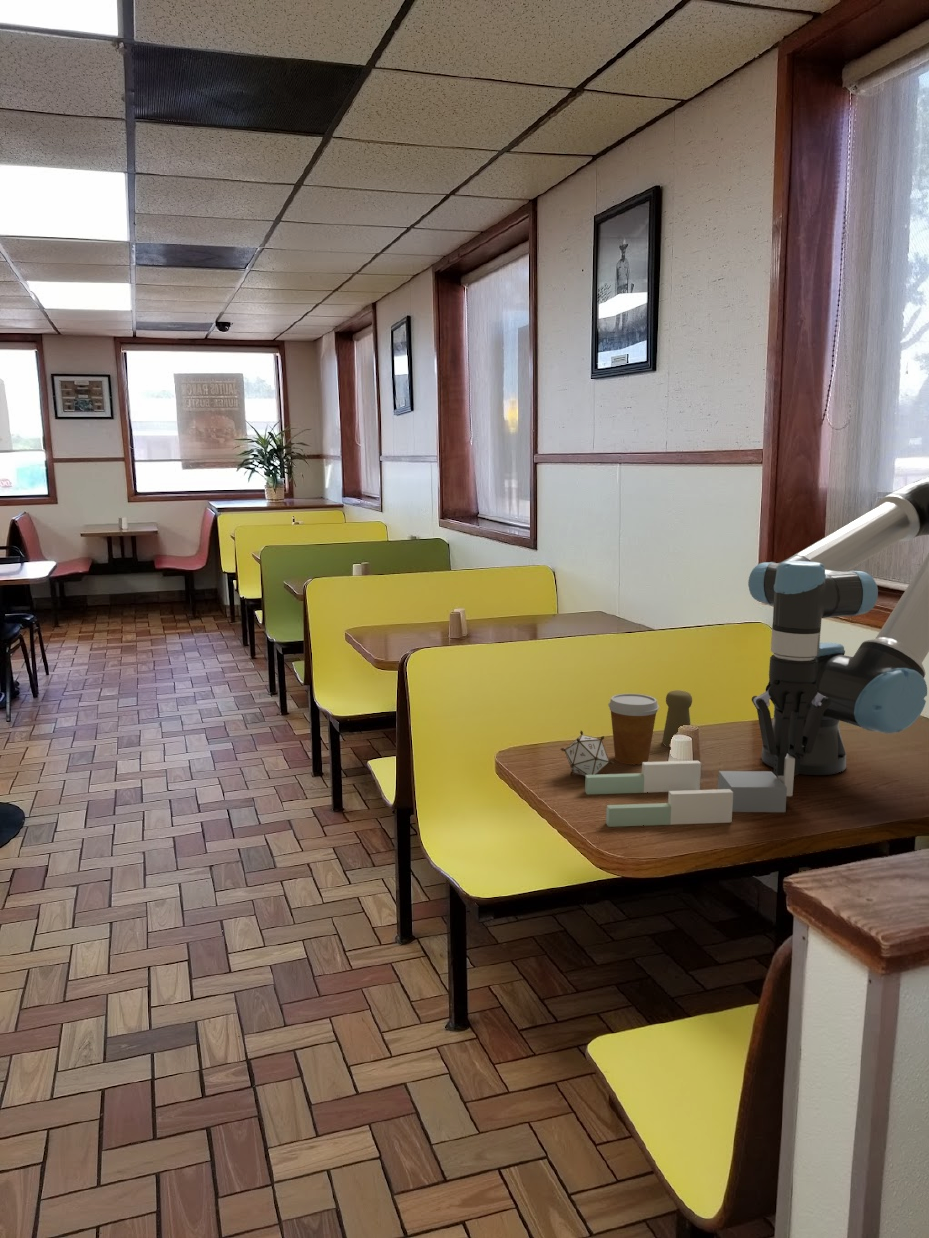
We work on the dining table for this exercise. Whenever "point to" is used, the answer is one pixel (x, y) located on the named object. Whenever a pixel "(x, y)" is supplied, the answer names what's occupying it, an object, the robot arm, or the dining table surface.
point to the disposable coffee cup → (632, 726)
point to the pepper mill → (676, 713)
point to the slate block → (754, 791)
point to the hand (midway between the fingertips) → (784, 793)
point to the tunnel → (663, 777)
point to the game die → (586, 755)
